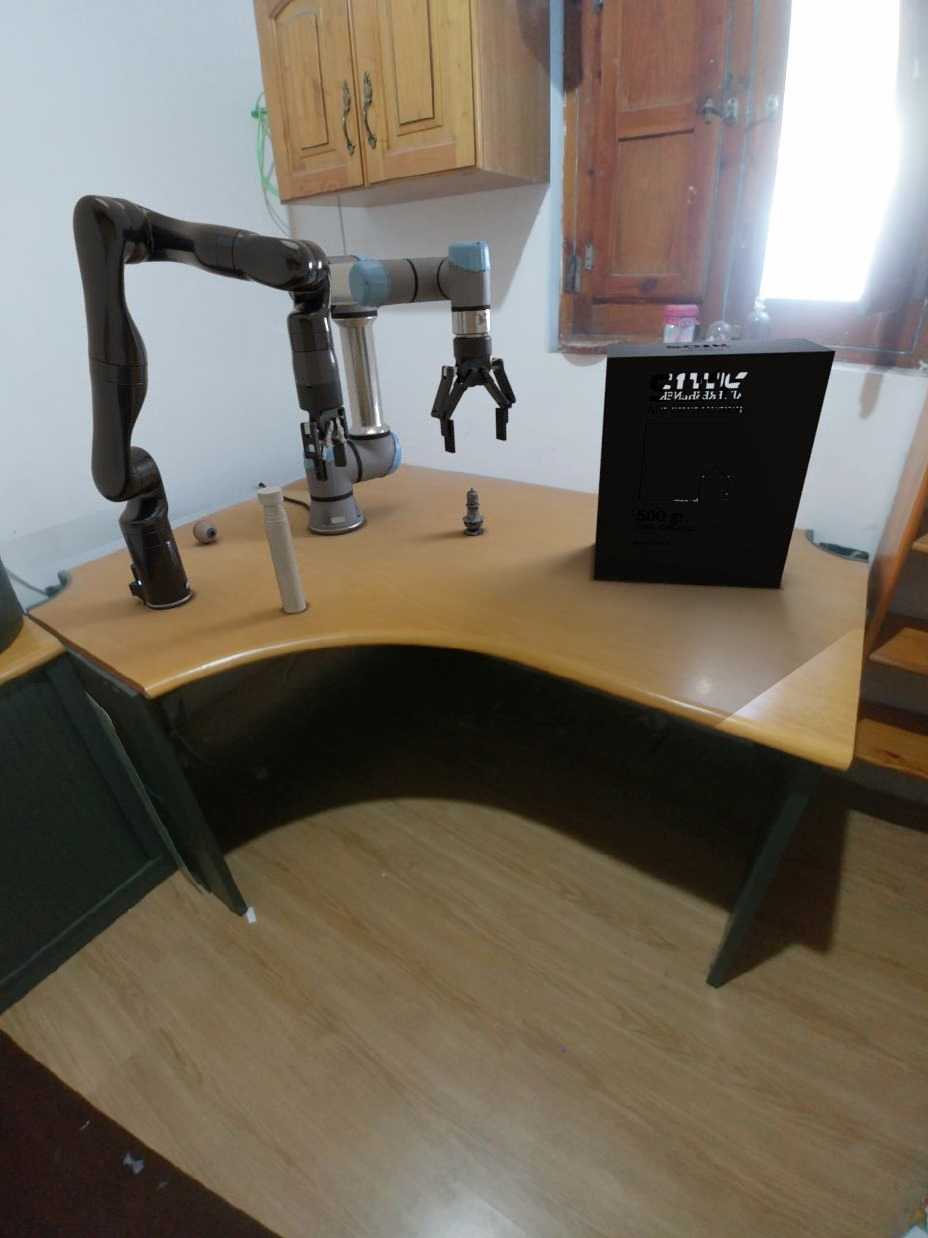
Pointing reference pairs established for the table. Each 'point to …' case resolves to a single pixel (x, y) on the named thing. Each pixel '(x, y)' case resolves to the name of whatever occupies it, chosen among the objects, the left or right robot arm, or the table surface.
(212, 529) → the eyeball
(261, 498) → the cap
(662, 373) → the cardboard box
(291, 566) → the bottle
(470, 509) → the salt shaker
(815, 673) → the table surface
